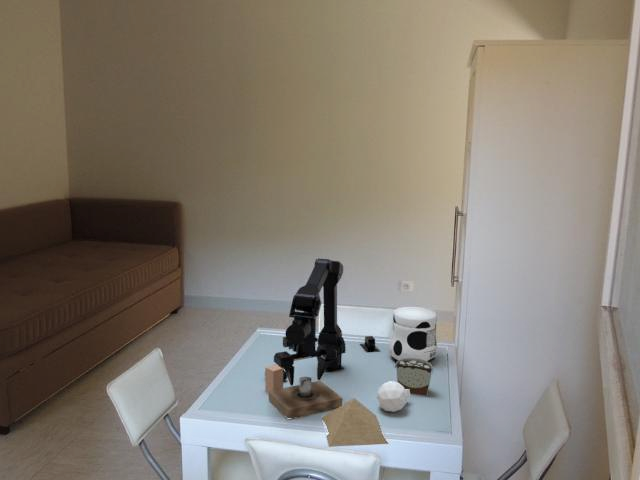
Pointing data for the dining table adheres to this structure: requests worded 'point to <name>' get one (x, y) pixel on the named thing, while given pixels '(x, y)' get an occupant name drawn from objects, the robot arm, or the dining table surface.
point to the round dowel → (305, 387)
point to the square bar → (273, 378)
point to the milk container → (414, 334)
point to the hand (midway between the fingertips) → (305, 382)
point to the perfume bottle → (392, 396)
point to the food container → (414, 375)
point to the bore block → (305, 400)
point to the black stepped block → (369, 345)
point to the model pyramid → (353, 426)
